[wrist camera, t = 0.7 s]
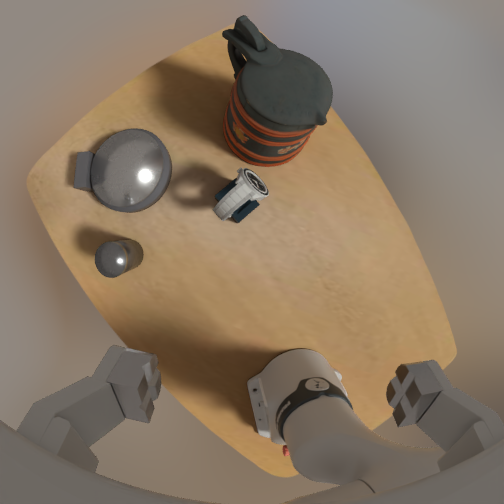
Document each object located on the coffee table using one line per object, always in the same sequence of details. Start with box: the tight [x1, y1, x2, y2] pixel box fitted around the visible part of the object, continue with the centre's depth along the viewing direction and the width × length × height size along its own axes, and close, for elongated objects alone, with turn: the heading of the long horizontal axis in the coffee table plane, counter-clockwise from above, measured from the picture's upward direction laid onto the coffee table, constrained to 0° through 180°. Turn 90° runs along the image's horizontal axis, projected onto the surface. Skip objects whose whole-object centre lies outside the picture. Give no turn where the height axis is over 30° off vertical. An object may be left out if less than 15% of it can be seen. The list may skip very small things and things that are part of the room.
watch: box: [213, 168, 269, 223], centre depth 39 cm, size 6×8×11 cm
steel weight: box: [95, 239, 143, 278], centre depth 39 cm, size 5×5×9 cm
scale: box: [74, 129, 172, 213], centre depth 40 cm, size 14×16×5 cm
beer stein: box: [222, 15, 333, 167], centre depth 34 cm, size 19×15×20 cm
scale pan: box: [91, 130, 164, 207], centre depth 38 cm, size 13×13×1 cm
